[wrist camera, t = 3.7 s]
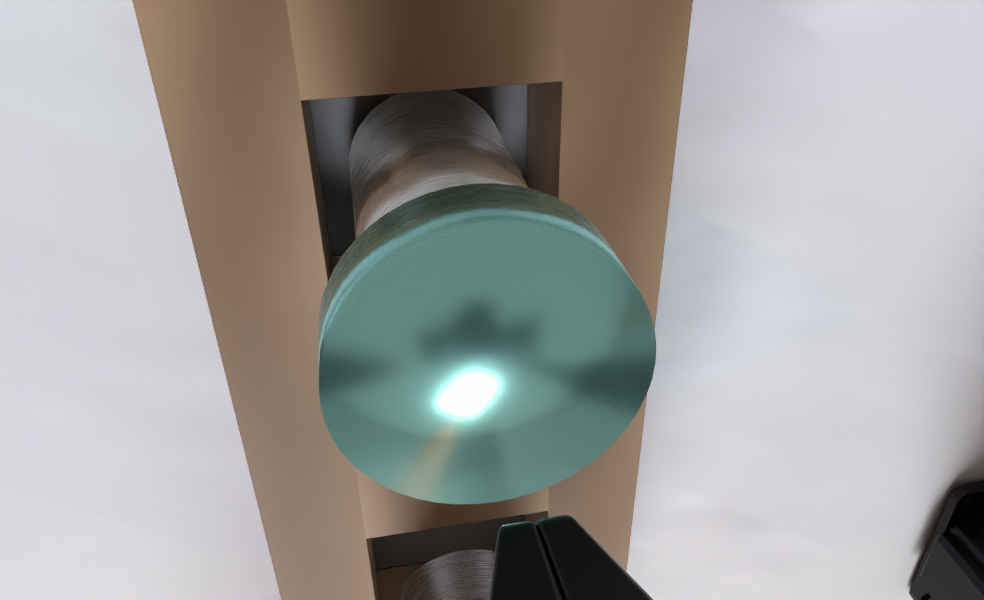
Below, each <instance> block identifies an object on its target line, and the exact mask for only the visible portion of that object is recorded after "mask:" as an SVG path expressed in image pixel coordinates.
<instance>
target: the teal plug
mask: <svg viewBox="0 0 984 600" xmlns="http://www.w3.org/2000/svg"><path fill="white" fill-rule="evenodd" d="M349 172H350V183H351V194H352V205H353V217H354V228H355V240H354V241H353V243H352V244H351V245H350V246H349V248H348V249H347V250H346V251H345V253H344V254H343V255H342V256H341V258H340V260H339V261H338V263H337V265H336V267H335V268H334V270H333V272H332V273H331V276H330V278H329V280H328V283H327V285H326V288H325V290H324V293H323V298H322V302H321V306H320V312H319V324H318V366H319V397H320V406H321V410H322V414H323V418H324V421H325V424H326V426H327V428H328V430H329V433H330V435H331V437H332V439H333V440H334V442H335V443H336V445H337V446H338V448H339V449H340V451H341V452H342V453H343V454H344V456H345V457H346V458H347V459H348V460H349V461H350V462H351V463H352V464H353V465H354V466H355V467H356V468H357V469H359V470H360V471H361V472H362V473H364V474H365V475H366V476H367V477H369V478H371V479H372V480H374V481H376V482H377V483H379V484H381V485H382V486H384V487H387V488H389V489H391V490H393V491H396V492H398V493H400V494H403V495H407V496H410V497H413V498H416V499H421V500H426V501H431V502H436V503H447V504H481V503H491V502H498V501H503V500H508V499H513V498H517V497H520V496H524V495H527V494H531V493H534V492H536V491H539V490H542V489H544V488H547V487H549V486H552V485H554V484H556V483H558V482H560V481H562V480H564V479H566V478H568V477H570V476H571V475H573V474H574V473H576V472H578V471H579V470H581V469H582V468H584V467H586V466H587V465H588V464H590V463H591V462H592V461H593V460H595V459H596V458H597V457H599V456H600V455H601V454H602V453H603V452H605V451H606V450H607V449H608V448H609V447H610V446H611V445H612V444H613V443H614V442H615V441H616V440H617V439H618V438H619V436H620V435H621V434H622V433H623V432H624V431H625V429H626V428H627V427H628V426H629V424H630V423H631V421H632V420H633V418H634V417H635V415H636V414H637V412H638V410H639V408H640V407H641V405H642V403H643V401H644V399H645V397H646V394H647V392H648V389H649V386H650V383H651V380H652V376H653V371H654V366H655V359H656V339H655V330H654V325H653V321H652V318H651V315H650V311H649V309H648V307H647V305H646V303H645V301H644V299H643V296H642V294H641V293H640V291H639V290H638V288H637V287H636V285H635V283H634V282H633V280H632V279H631V277H630V276H629V274H628V273H627V271H626V269H625V268H624V266H623V265H622V263H621V262H620V260H619V259H618V257H617V255H616V254H615V252H614V251H613V249H612V248H611V246H610V245H609V243H608V242H607V240H606V239H605V238H604V236H603V235H602V233H601V232H600V231H599V229H598V228H597V227H596V226H595V225H594V224H593V223H592V222H591V221H590V220H589V219H588V218H587V217H586V216H584V215H583V214H582V213H580V212H579V211H578V210H576V209H575V208H574V207H572V206H571V205H569V204H567V203H565V202H563V201H561V200H559V199H558V198H556V197H554V196H551V195H548V194H546V193H543V192H540V191H537V190H534V189H530V188H529V187H528V185H527V183H526V182H525V180H524V178H523V176H522V174H521V172H520V170H519V168H518V167H517V165H516V163H515V161H514V159H513V157H512V155H511V153H510V152H509V150H508V148H507V146H506V144H505V142H504V140H503V138H502V137H501V135H500V133H499V131H498V129H497V127H496V125H495V123H494V122H493V120H492V119H491V118H490V116H489V115H488V113H487V112H486V111H485V110H484V109H483V108H482V107H481V106H479V105H478V104H477V103H475V102H474V101H473V100H471V99H469V98H468V97H466V96H464V95H462V94H459V93H457V92H454V91H451V90H436V91H422V92H409V93H398V94H396V95H393V96H391V97H390V98H388V99H386V100H384V101H383V102H381V103H380V104H379V105H378V106H376V107H375V108H374V109H373V110H372V111H371V112H370V113H369V114H368V115H367V116H366V117H365V119H364V120H363V121H362V123H361V124H360V126H359V128H358V130H357V131H356V133H355V136H354V138H353V141H352V145H351V149H350V155H349Z"/></svg>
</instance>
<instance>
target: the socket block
mask: <svg viewBox="0 0 984 600" xmlns="http://www.w3.org/2000/svg"><path fill="white" fill-rule="evenodd" d="M132 1H133V5H134V9H135V13H136V17H137V21H138V25H139V29H140V33H141V37H142V41H143V45H144V49H145V53H146V57H147V61H148V65H149V69H150V73H151V77H152V81H153V85H154V89H155V93H156V97H157V101H158V105H159V109H160V113H161V117H162V121H163V125H164V129H165V133H166V137H167V141H168V145H169V149H170V153H171V157H172V161H173V165H174V169H175V173H176V177H177V181H178V185H179V189H180V193H181V197H182V201H183V205H184V209H185V213H186V217H187V221H188V226H189V230H190V234H191V238H192V242H193V246H194V250H195V254H196V258H197V262H198V266H199V270H200V274H201V278H202V282H203V286H204V290H205V294H206V298H207V302H208V306H209V310H210V314H211V318H212V322H213V326H214V330H215V334H216V338H217V342H218V346H219V350H220V354H221V358H222V362H223V366H224V370H225V374H226V378H227V382H228V386H229V390H230V394H231V398H232V402H233V406H234V410H235V414H236V418H237V422H238V426H239V430H240V434H241V438H242V442H243V446H244V450H245V454H246V458H247V463H248V467H249V471H250V475H251V479H252V483H253V487H254V491H255V495H256V499H257V503H258V507H259V511H260V515H261V519H262V523H263V527H264V531H265V535H266V539H267V543H268V547H269V551H270V555H271V559H272V563H273V567H274V571H275V575H276V579H277V583H278V587H279V591H280V595H281V599H282V600H400V597H401V592H402V589H403V587H404V585H405V583H406V582H407V580H408V579H409V578H410V576H411V575H412V574H413V573H414V572H415V571H416V570H418V569H419V568H420V567H421V566H423V565H424V564H426V563H428V562H426V563H420V564H413V565H407V566H401V567H395V568H388V569H382V570H376V564H375V557H374V550H373V543H372V538H375V537H381V536H388V535H394V534H401V533H407V532H414V531H420V530H427V529H433V528H440V527H446V526H453V525H459V524H466V523H472V522H478V521H485V520H491V519H498V518H504V517H511V516H517V515H524V521H531V522H533V523H534V524H536V522H537V521H538V520H539V519H542V518H548V517H554V516H561V515H569V516H571V517H573V518H574V519H575V520H576V521H577V522H578V523H579V524H580V525H581V526H582V527H583V528H584V529H585V530H586V531H587V532H588V533H589V534H590V535H591V536H592V537H593V538H594V539H595V540H596V541H597V542H598V543H599V544H600V545H601V546H602V547H603V548H604V550H605V551H606V552H607V553H608V554H609V555H610V556H611V557H612V558H613V559H614V560H615V561H616V562H617V563H618V564H619V565H620V566H621V567H622V568H623V569H624V570H625V571H626V569H627V560H628V552H629V543H630V534H631V526H632V517H633V509H634V500H635V492H636V483H637V474H638V466H639V457H640V449H641V440H642V431H643V423H644V414H645V406H646V397H647V394H646V397H645V399H644V401H643V403H642V405H641V407H640V408H639V410H638V412H637V414H636V415H635V417H634V418H633V420H632V421H631V423H630V424H629V426H628V427H627V428H626V429H625V431H624V432H623V433H622V434H621V435H620V436H619V438H618V439H617V440H616V441H615V442H614V443H613V444H612V445H611V446H610V447H609V448H608V449H607V450H606V451H605V452H603V453H602V454H601V455H600V456H599V457H597V458H596V459H595V460H593V461H592V462H591V463H590V464H588V465H587V466H586V467H584V468H582V469H581V470H579V471H578V472H576V473H574V474H573V475H571V476H570V477H568V478H566V479H564V480H562V481H560V482H558V483H556V484H554V485H552V486H549V487H547V488H544V489H542V490H539V491H536V492H534V493H531V494H527V495H524V496H520V497H517V498H513V499H508V500H503V501H498V502H491V503H481V504H447V503H436V502H431V501H426V500H421V499H416V498H413V497H410V496H407V495H403V494H400V493H398V492H396V491H393V490H391V489H389V488H387V487H384V486H382V485H381V484H379V483H377V482H376V481H374V480H372V479H371V478H369V477H367V476H366V475H365V474H364V473H362V472H361V471H360V470H359V469H357V468H356V467H355V466H354V465H353V464H352V463H351V462H350V461H349V460H348V459H347V458H346V457H345V456H344V454H343V453H342V452H341V451H340V449H339V448H338V446H337V445H336V443H335V442H334V440H333V439H332V437H331V435H330V433H329V430H328V428H327V426H326V424H325V421H324V418H323V414H322V410H321V406H320V397H319V366H318V324H319V312H320V306H321V302H322V298H323V293H324V290H325V288H326V285H327V283H328V280H329V278H330V276H331V273H332V272H333V270H334V268H335V267H336V265H337V263H338V261H339V260H340V258H341V256H342V255H340V256H331V249H330V242H329V235H328V228H327V221H326V214H325V207H324V200H323V193H322V186H321V179H320V172H319V165H318V158H317V151H316V144H315V137H314V130H313V123H312V116H311V109H310V102H309V100H315V99H328V98H342V97H355V96H368V95H382V94H395V93H409V92H422V91H436V90H449V89H463V88H476V87H490V86H503V85H517V84H528V136H527V185H528V187H529V188H530V189H534V190H537V191H540V192H543V193H546V194H548V195H551V196H554V197H556V198H558V199H559V200H561V201H563V202H565V203H567V204H569V205H571V206H572V207H574V208H575V209H576V210H578V211H579V212H580V213H582V214H583V215H584V216H586V217H587V218H588V219H589V220H590V221H591V222H592V223H593V224H594V225H595V226H596V227H597V228H598V229H599V231H600V232H601V233H602V235H603V236H604V238H605V239H606V240H607V242H608V243H609V245H610V246H611V248H612V249H613V251H614V252H615V254H616V255H617V257H618V259H619V260H620V262H621V263H622V265H623V266H624V268H625V269H626V271H627V273H628V274H629V276H630V277H631V279H632V280H633V282H634V283H635V285H636V287H637V288H638V290H639V291H640V293H641V294H642V296H643V299H644V301H645V303H646V305H647V307H648V309H649V311H650V315H651V318H652V321H653V325H654V328H655V320H656V311H657V303H658V294H659V285H660V277H661V268H662V260H663V251H664V242H665V234H666V225H667V217H668V208H669V200H670V191H671V182H672V174H673V165H674V157H675V148H676V139H677V131H678V122H679V114H680V105H681V96H682V88H683V79H684V71H685V62H686V54H687V45H688V36H689V28H690V19H691V11H692V2H693V0H132Z"/></svg>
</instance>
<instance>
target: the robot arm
mask: <svg viewBox="0 0 984 600" xmlns="http://www.w3.org/2000/svg"><path fill="white" fill-rule="evenodd" d="M909 594H910V595H911V597H912V598H913V600H984V482H979V483H973V484H967V485H963V486H960V487H958V488H956V489H955V490H954V491H953V492H952V493H951V494H950V496H949V498H948V500H947V503H946V505H945V508H944V510H943V512H942V515H941V517H940V519H939V522H938V524H937V527H936V529H935V531H934V534H933V536H932V539H931V541H930V543H929V546H928V548H927V550H926V553H925V555H924V558H923V560H922V562H921V565H920V567H919V570H918V572H917V574H916V577H915V579H914V581H913V584H912V586H911V589H910V592H909ZM488 600H653V599H652V598H651V597H650V596H649V595H648V594H647V593H646V592H645V591H644V590H643V589H642V588H641V587H640V586H639V585H638V584H637V583H636V582H635V581H634V580H633V578H632V577H631V576H630V575H629V574H628V573H627V572H626V571H625V570H624V569H623V568H622V567H621V566H620V565H619V564H618V563H617V562H616V561H615V560H614V559H613V558H612V557H611V556H610V555H609V554H608V553H607V552H606V551H605V550H604V548H603V547H602V546H601V545H600V544H599V543H598V542H597V541H596V540H595V539H594V538H593V537H592V536H591V535H590V534H589V533H588V532H587V531H586V530H585V529H584V528H583V527H582V526H581V525H580V524H579V523H578V522H577V521H576V520H575V519H574V518H573V517H571V516H569V515H561V516H554V517H548V518H542V519H539V520H538V521H537V522H536V524H534V523H533V522H531V521H523V522H517V523H511V524H504V525H502V526H501V527H500V528H499V530H498V535H497V541H496V548H495V555H494V562H493V569H492V576H491V583H490V590H489V597H488Z"/></svg>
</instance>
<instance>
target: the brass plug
mask: <svg viewBox="0 0 984 600" xmlns="http://www.w3.org/2000/svg"><path fill="white" fill-rule="evenodd" d="M494 555H495V551H489V550H480V549H473V550H462V551H457V552H452V553H449V554H445V555H443V556H440V557H437V558H435V559H433V560H431V561H429V562H428V563H426V564H424V565H423V566H421V567H420V568H419V569H418V570H416V571H415V572H414V573H413V574H412V575H411V576H410V578H409V579H408V580H407V582H406V583H405V585H404V587H403V589H402V592H401V597H400V600H488V597H489V590H490V583H491V576H492V569H493V562H494Z"/></svg>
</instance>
